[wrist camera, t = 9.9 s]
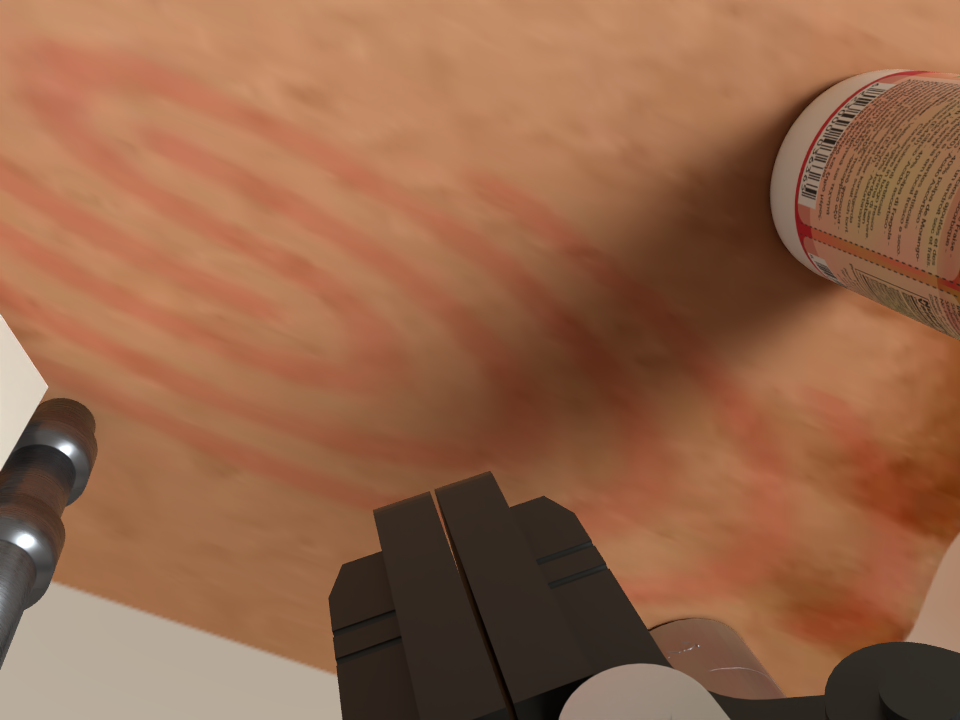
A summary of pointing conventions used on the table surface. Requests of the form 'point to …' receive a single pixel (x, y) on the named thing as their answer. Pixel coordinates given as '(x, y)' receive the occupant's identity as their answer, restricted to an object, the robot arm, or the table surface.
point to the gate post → (39, 503)
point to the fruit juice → (878, 191)
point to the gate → (16, 390)
